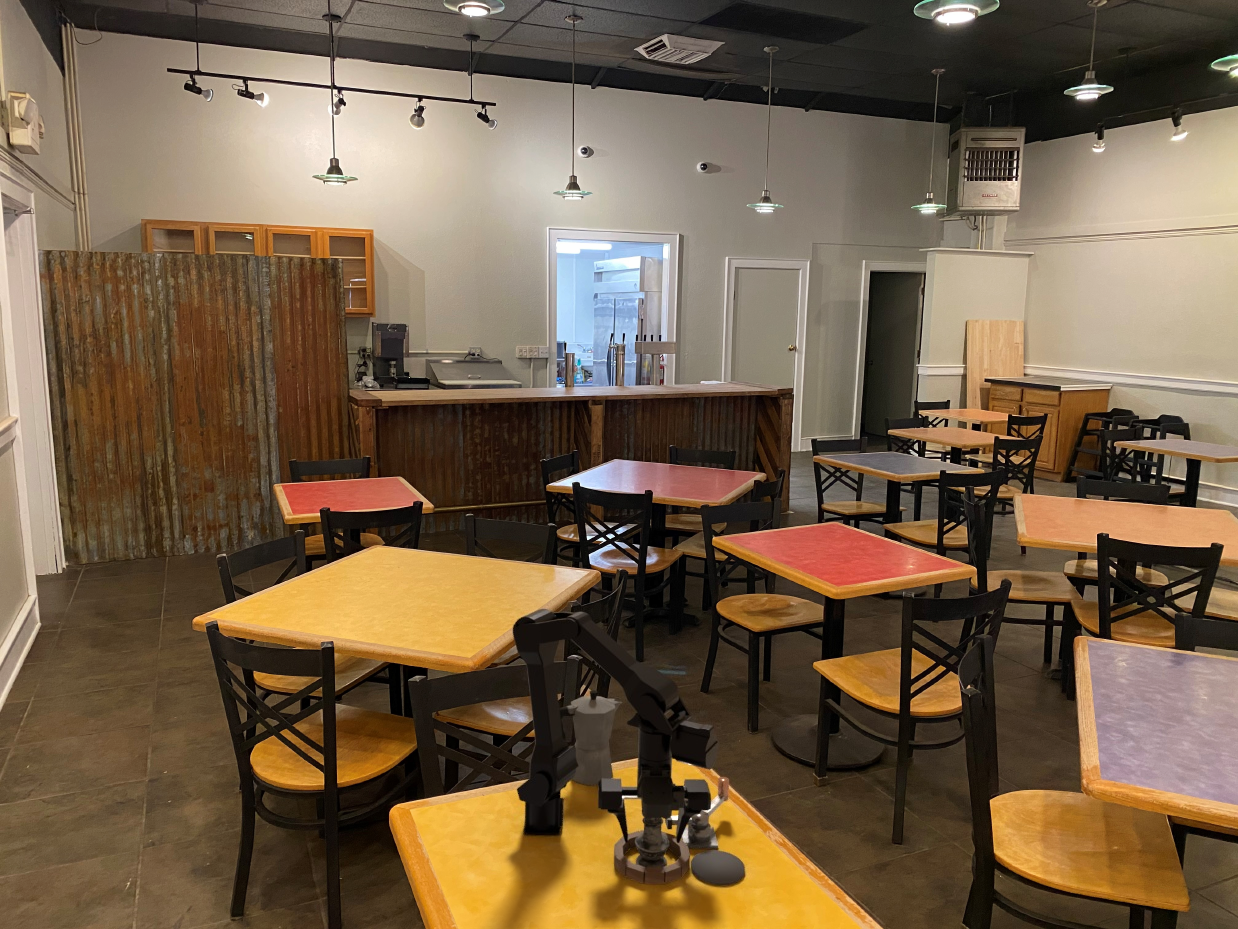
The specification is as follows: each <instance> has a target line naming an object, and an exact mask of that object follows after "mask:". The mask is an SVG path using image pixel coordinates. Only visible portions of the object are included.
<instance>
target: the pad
mask: <svg viewBox="0 0 1238 929" xmlns="http://www.w3.org/2000/svg"><path fill="white" fill-rule="evenodd" d="M690 870H691V872H692V874H693V875H694V876H695V877H696V878H698V879H699V880H701V881H702V882H704V883H706V884H710V885H717V886H727V885H732V884H735V883H737V882H739V881H741V880H742V879H743V877H744V876H745V873H746V872H745V871H746V867H745V864H744V862H743V861H742V859H741V858H739V857H738V856H736V855H735V854H732V853H730V852H727V851H724V850H717V849H709V850H704V851H701V852H699V853H697V854H695V855H694V856H693V857H692V859H690Z"/></svg>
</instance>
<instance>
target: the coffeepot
mask: <svg viewBox="0 0 1238 929" xmlns="http://www.w3.org/2000/svg"><path fill="white" fill-rule="evenodd" d="M622 703H623V702H622V701H621V700H620V699H618V698H605V697H603V696H599V695H598V690H596V689H591V690H589V696H581V697H578V698H577V699H574V700H572V701H570V704H569V705H566V706H564V707H563V706H562V707H559V711H560V720H561V728H562V736H563V739H564V740H565V742H566V743H567V744H568V746H572V740H569V741H568V740H566V732H565V730H564V723H563V720H562V719H563V718H564V717H572V720H573V721H572V722H573V728H574V737H575V743H574V746H575V748H576V760H577V763H578V765H579V767H577V768H576V773H575V776H574V777H573V778H572V779H571V781H573V782H574V783H577V784H579V785H585V786H598V782H599V781H600V780H601V778H608V779H614V774H613V766H612V765H611V764H612V758H611V749H610V744H609V741H610V739H611V737H612V731H613V725H614V719H615V715H616V714H615V713H616V711H617V709H619V706H620V705H621V704H622Z"/></svg>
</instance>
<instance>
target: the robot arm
mask: <svg viewBox="0 0 1238 929" xmlns="http://www.w3.org/2000/svg"><path fill="white" fill-rule="evenodd" d="M512 636H513V640H514V644H515V648H516V650H517V653H518V654H519V656H520V657H521V659H522V660H523V661H524V663H525V665H526V670H527V671H526V672H527V673H526V674H527V679H528V688H529V690H528V691H529V696H530V698H529V699H530V705H531V715H532V724H533V732H534V743H535V744H534V747H533V750H532V754H531V758H530V761H529V778H528V779H527V780H526V781H524V782H523V783H522V784H521V785H520V786H519V787H517V788H516V791H517V795H518V796H517V797H518V800H519V801H521V802H524V825H523V830H522V831H523V832H522V833H523V835H527V836H530V835H534V836H536V835H537V836H538V835H539V836H548V835H549V836H555V835H556V836H560V833H561V827H563V825H564V809H565V808H564V805H565V802H564V800H565V798H564V797H561V793H562V792H561V791H562V790H563V789H565V788H566V787H567V785H568V783H569V782H571V781H572V778H573V777H574V776H575V773H576V768H577V767H579V765H578V763H577V760H576V748H575V745H570V746H568V744H567V743H566V742H565V740H564V739H563V736H562V728H561V721H562V719H561V720H560V711H559V708H560V704H559V693H558V686H557V685H558V684H557V677H556V676H557V675H556V670H555V669H556V666H555V656H556V653H557V649H558V647H559V644H560V643H559V642H560V641H566V640H567V641H568V640H571V642H572V643H574V644H575V645H576V646H577V647H579V649H581V650H582V651H583V653H584V654H586V655H587V656H588V657H589V658H590V659H592V661H594V662H595V664H596V665H598V666H599V667H601V669H602V670H604V671H605V672H606V673H607V675H609V676H610V677H611V678H612V679H613V680H614V681H615V682H617V683H618V685H619V686H620V687H621V688H622V690H623V692H624V695H625V697H626V700H627V702H628V703H629V704H630V706H631V707H632V708H633V709H634V710H635V714H634V715H633V716H632V717H631V718H629V719H628V720H627V721H626V725H627V726H630V727H634V728H638V743H637V744H638V746H637V771H636V772H637V773H636V775H637V776H636V786H622V778H611V779H608V778H601V780H600V781H599V782H598V785H597V808H598V809H600V810H606V811H607V813H608V814H613V815H614V817H616V819H617V822H618V824H619V827H620V830H621V833H622V836H623V837H624V840H625V843H628V834H629V830H628V823H627V814H626V804H625V800H640V802H641V814H642V817H643V818H644V817H645V818H648V819H651V818H662V819H663V820H665V819H668V818H670V817H671V816H673V815H672V814H673V811H677V812H678V813H677V816H678V820H677V825H676V827H675V828H676V829H675V830H676V831H675V837H676V841H677V843H679V842H680V840H682V835H683V833H684V830H685V828H686V827H688V825H687V823H688V822H689V820H690V818H691V817H692V816H693V815H695V814H700V813H701V810H710V809H711V801H712V794H711V790H710V787H709V786H710V785H709V783H708V781H707V780H706V779H701V778H699V779H698V778H697V779H695V778H694V779H693V778H692V779H691V778H688V779H687V778H686V779H684V781H683V785H676V783H674V782H673V778H672V769H673V768H672V767H673V765H672V764H673V763H672V762H673V760H675V761H676V762H677V763H682V764H685V765H690V766H693V767H697V768H700V769H704V770H705V769H706V770H712V769H713V767H714V766H715V764H716V761H717V758H718V755H719V747H720V741H718V740H719V739H718V735H717V734H716V733H715V726H714V725H710V724H701V723H697V722H692V721H689V719H690V718H691V717H692V714H691V713H690V711H689V709H688V708H687V706H686V704H685V702H684V701H683V699H682V697H681V696H680V692H679V687H678V685H677V683H676V682H675V680H673V679H672V678H670V677H669V676H667V675H665V674H664V673H663V672H661V671H660V670H658V669H656V668H653V667H650V666H647V665H644V664H642V663H641V662H640V661H638V660H637V659H636V658H634V657H633V656H632V655H631V654H630V653H629V652H628V651H627V650H626V649H624V648H623V647H622V646H621V645H620V644H619V643H618V642H617V641H615V640H614V639H613V638H612V636H610V635H609V634H608V633H606V631H605V630H603V629H602V628H601V627H600V626H599V625H597V623H596V622H595V621H593V620H592V617H591V616H590V614H588V613H587V612H584V611H577V612H570V611H558V612H557V611H555V612H553V611H551V610H550V609H548V608H540V609H537V610H535V611H533V612H530V613H528V614H526V615H523V616H521V617H519V618H518V619H517V620H516V621H515V623H514V624H512ZM671 711H672V712H673V713H672V714H671V715H670V716H669V717H668V718H667V716H666V714H668V713H669V712H671Z"/></svg>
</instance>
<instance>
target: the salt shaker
mask: <svg viewBox="0 0 1238 929" xmlns="http://www.w3.org/2000/svg"><path fill="white" fill-rule="evenodd" d="M642 824H643V830H644V832H643V834H641V835H639V836H637V838H636V839H635V845H636V846H637V847H636V850H637V852H638V856H636V859H635V864H637V865H640V866H643V867H665V866H668V865H667V864H668V860H667V858H666V857H665V855H666V854H667V851H668V849H667V848H668V847H669V844H670V843H669V840H668V838H666V837H665V836H664V835H662V833H661V831H662V825H663V824H664V819H663V818H651V819H648V818H645V817H643V818H642Z"/></svg>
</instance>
